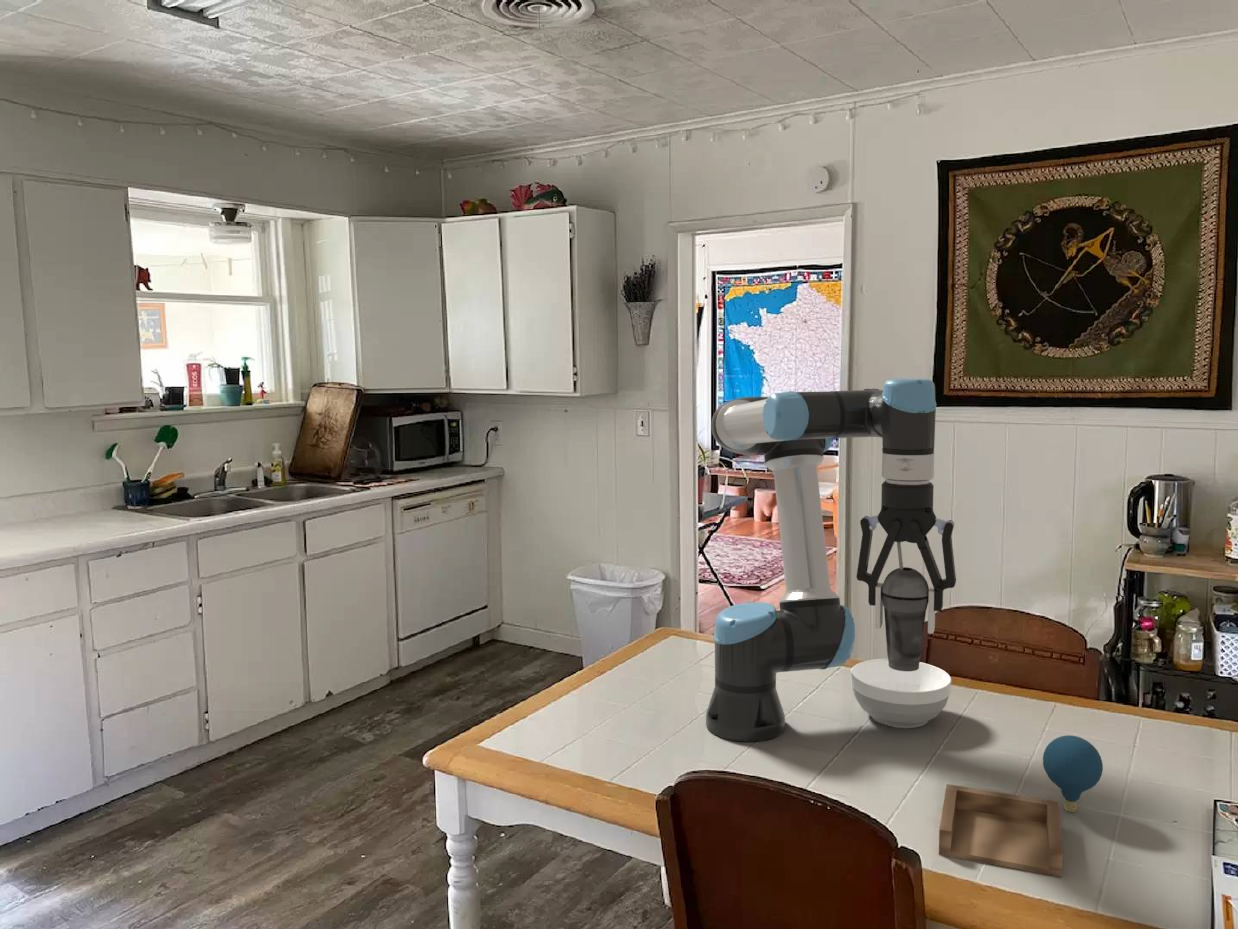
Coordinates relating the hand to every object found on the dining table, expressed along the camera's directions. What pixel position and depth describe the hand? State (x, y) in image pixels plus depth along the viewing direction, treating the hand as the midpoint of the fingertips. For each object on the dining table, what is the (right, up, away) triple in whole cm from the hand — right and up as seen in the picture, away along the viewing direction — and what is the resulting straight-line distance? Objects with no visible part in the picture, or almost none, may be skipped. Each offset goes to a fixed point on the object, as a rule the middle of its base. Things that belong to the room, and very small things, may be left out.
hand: (904, 628), depth 144 cm
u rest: (+12, -30, -6) cm, 33 cm away
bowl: (+11, -25, +40) cm, 48 cm away
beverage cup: (0, -6, +1) cm, 6 cm away
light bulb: (+27, -29, +2) cm, 39 cm away
